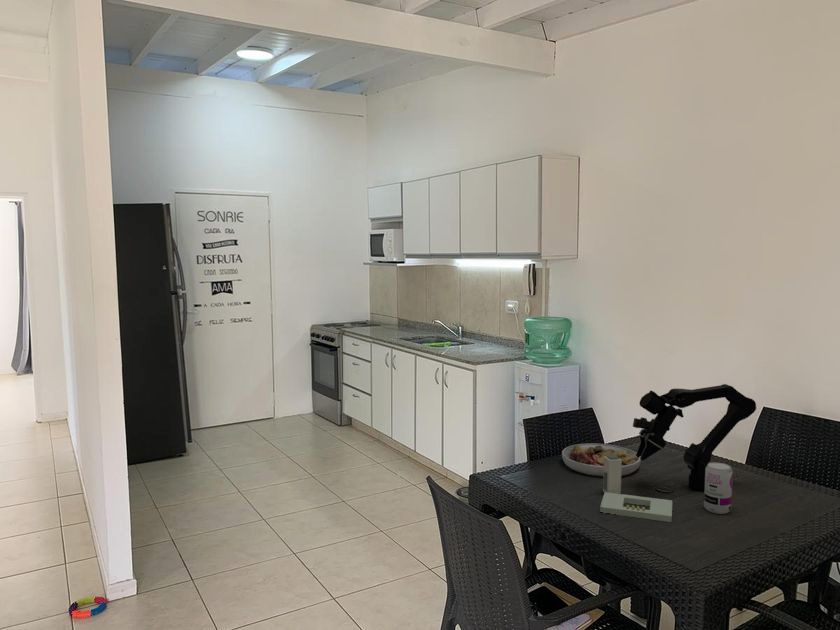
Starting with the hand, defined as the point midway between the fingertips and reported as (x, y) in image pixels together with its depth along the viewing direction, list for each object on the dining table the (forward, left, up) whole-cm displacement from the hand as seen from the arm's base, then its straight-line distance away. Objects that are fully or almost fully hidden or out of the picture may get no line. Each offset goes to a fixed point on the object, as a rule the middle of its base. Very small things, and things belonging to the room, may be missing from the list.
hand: (639, 458), depth 239 cm
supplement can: (-25, +8, -13) cm, 29 cm away
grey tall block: (+9, +5, -12) cm, 16 cm away
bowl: (+16, -24, -13) cm, 32 cm away
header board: (0, +17, -12) cm, 21 cm away
